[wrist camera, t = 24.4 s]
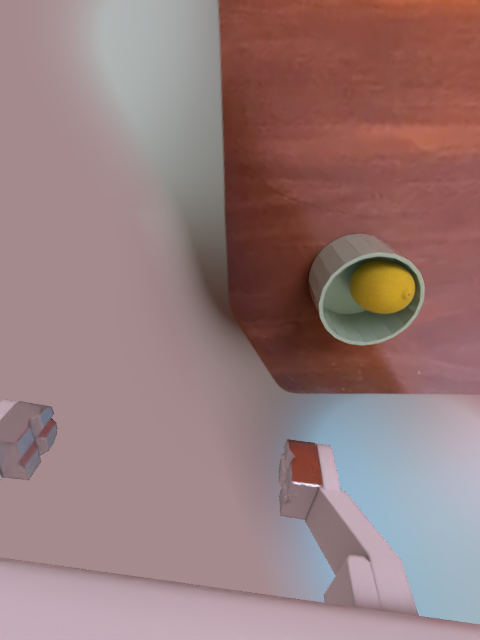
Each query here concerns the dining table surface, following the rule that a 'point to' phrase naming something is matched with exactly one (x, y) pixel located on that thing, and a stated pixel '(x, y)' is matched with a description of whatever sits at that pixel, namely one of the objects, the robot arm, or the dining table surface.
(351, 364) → the dining table surface
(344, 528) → the robot arm
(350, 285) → the lemon
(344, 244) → the cup
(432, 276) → the dining table surface
